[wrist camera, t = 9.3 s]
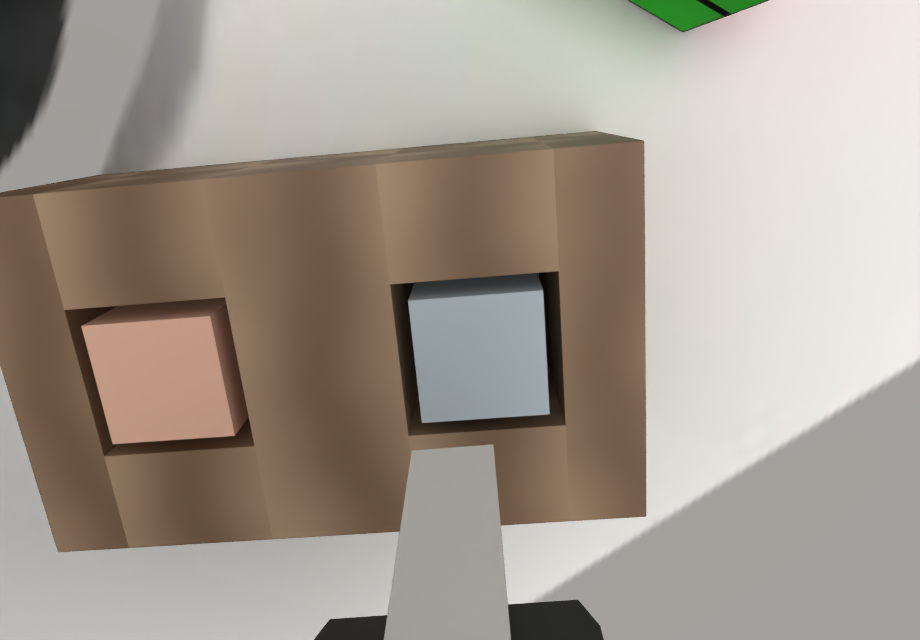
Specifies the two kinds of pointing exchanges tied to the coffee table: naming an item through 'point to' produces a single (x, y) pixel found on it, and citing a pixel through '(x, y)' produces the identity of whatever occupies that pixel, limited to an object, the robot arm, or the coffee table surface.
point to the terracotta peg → (167, 371)
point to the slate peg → (480, 347)
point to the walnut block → (330, 334)
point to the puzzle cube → (694, 10)
